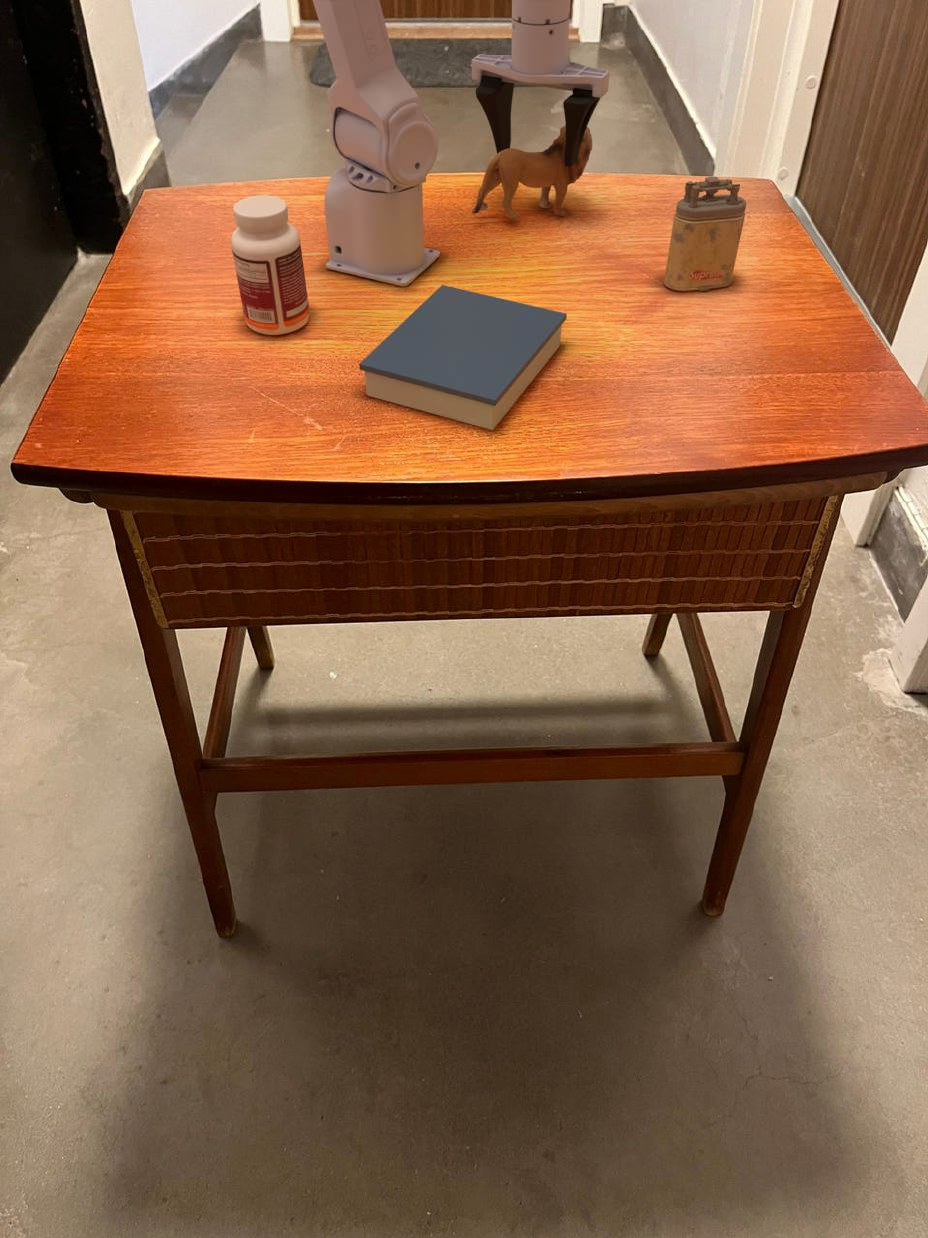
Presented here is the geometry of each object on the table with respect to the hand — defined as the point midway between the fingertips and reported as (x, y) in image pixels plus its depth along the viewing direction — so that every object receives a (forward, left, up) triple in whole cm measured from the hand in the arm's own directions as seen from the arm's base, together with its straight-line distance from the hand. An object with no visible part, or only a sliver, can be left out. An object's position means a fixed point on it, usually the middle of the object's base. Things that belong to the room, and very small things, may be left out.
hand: (536, 157), depth 107 cm
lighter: (+22, -9, -6) cm, 24 cm away
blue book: (+8, -34, -6) cm, 35 cm away
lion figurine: (0, -1, -6) cm, 6 cm away
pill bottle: (-12, -34, -6) cm, 36 cm away
